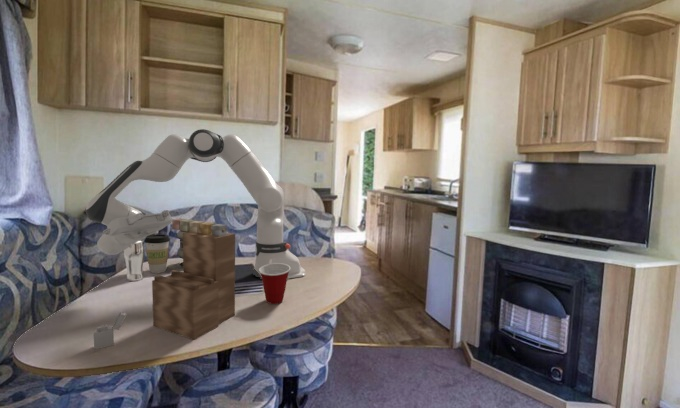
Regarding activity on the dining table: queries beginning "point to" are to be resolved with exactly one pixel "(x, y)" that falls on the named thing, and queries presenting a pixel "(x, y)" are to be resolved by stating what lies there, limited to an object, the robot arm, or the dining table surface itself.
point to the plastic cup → (274, 281)
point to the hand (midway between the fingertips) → (154, 213)
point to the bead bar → (199, 227)
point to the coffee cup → (157, 252)
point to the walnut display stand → (197, 287)
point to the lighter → (107, 333)
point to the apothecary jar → (181, 244)
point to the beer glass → (134, 261)
